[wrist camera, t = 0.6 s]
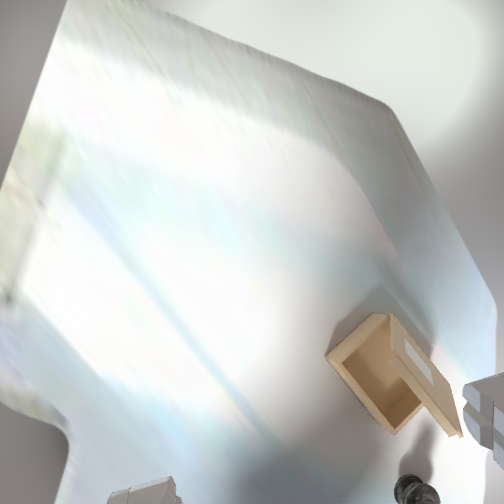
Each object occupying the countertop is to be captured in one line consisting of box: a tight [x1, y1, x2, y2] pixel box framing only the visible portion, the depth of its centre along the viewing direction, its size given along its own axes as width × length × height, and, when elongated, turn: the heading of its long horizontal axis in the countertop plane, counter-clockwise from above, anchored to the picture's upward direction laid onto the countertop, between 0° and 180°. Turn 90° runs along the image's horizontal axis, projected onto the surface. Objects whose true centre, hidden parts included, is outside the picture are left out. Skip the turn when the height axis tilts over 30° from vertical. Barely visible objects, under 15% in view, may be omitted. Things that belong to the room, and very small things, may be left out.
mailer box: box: [325, 313, 424, 435], centre depth 58 cm, size 14×11×5 cm
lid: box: [390, 313, 463, 438], centre depth 52 cm, size 14×12×1 cm
